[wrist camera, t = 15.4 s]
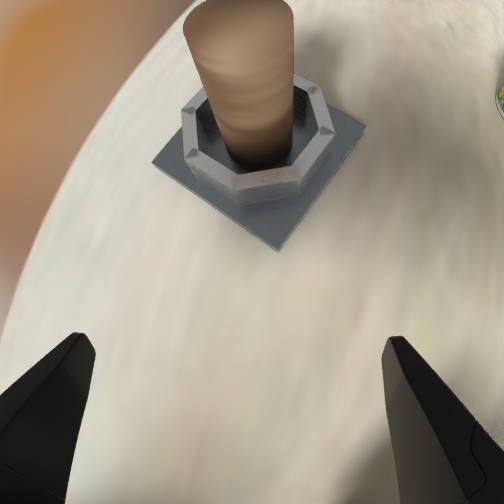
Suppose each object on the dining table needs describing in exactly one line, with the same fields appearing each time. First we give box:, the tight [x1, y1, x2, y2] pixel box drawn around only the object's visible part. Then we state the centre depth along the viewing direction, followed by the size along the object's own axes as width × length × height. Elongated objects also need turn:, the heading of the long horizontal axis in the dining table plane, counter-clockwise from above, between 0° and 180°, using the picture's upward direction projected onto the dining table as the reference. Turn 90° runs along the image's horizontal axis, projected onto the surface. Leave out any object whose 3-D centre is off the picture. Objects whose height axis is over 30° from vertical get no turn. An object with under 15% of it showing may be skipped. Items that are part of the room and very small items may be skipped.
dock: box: [152, 73, 366, 252], centre depth 22 cm, size 12×12×4 cm
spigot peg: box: [183, 0, 294, 170], centre depth 18 cm, size 5×5×12 cm
